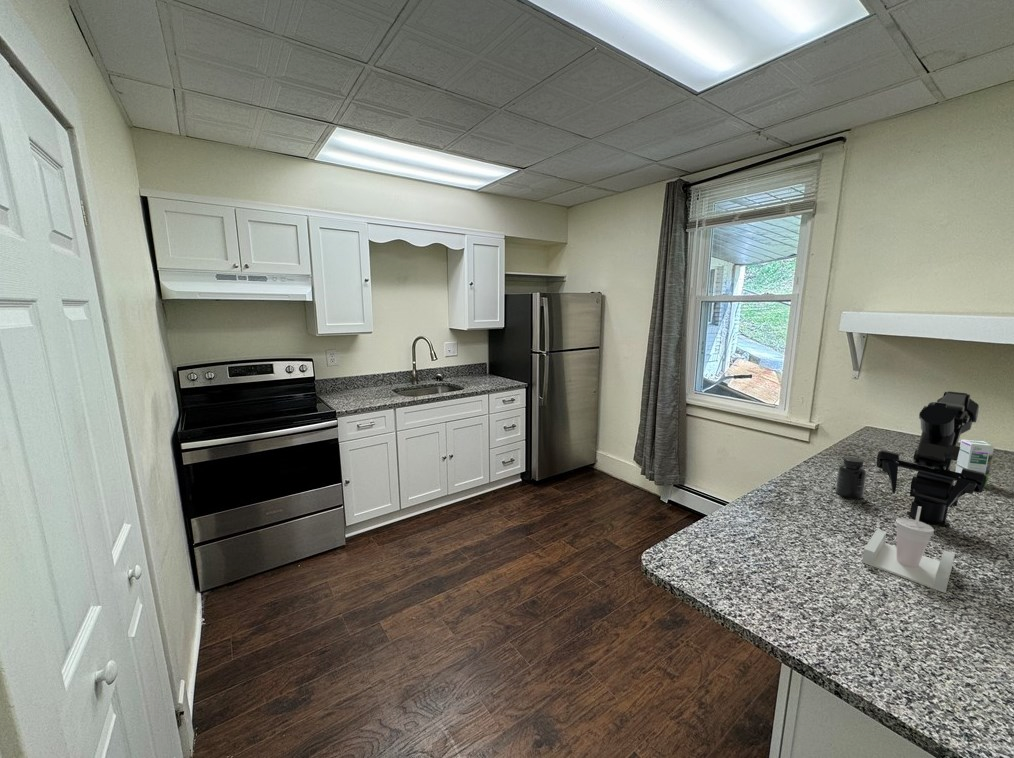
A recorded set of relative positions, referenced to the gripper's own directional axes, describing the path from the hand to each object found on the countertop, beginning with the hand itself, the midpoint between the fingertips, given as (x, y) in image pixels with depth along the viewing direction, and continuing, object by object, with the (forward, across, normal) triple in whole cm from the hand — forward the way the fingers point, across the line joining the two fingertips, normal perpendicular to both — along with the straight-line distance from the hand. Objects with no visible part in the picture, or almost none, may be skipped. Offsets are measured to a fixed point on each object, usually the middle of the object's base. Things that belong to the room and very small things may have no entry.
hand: (919, 499), depth 99 cm
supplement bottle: (-9, -16, +30) cm, 35 cm away
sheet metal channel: (+16, +1, +3) cm, 16 cm away
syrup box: (-40, +9, +63) cm, 75 cm away
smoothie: (+15, +1, +3) cm, 16 cm away
